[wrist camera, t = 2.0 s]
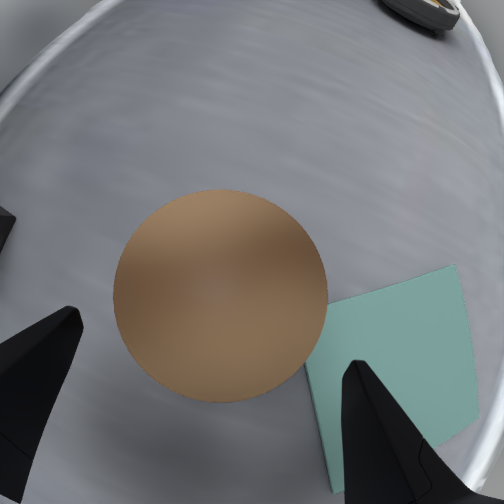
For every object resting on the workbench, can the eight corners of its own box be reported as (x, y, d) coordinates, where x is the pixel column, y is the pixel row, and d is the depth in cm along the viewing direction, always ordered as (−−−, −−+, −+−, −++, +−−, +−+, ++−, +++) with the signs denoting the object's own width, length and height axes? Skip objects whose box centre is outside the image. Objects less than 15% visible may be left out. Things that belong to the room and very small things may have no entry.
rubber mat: (474, 416, 17) (478, 417, 16) (331, 491, 15) (333, 494, 15) (450, 265, 20) (454, 263, 20) (292, 313, 19) (294, 313, 18)
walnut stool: (292, 351, 18) (349, 370, 8) (187, 374, 17) (137, 415, 8) (267, 250, 20) (295, 174, 10) (166, 271, 19) (105, 213, 9)
